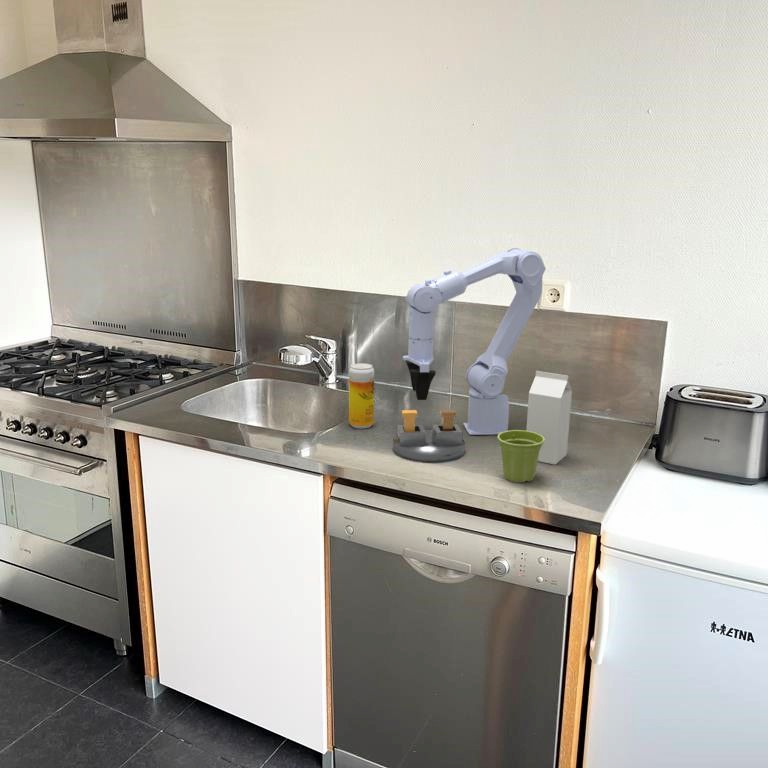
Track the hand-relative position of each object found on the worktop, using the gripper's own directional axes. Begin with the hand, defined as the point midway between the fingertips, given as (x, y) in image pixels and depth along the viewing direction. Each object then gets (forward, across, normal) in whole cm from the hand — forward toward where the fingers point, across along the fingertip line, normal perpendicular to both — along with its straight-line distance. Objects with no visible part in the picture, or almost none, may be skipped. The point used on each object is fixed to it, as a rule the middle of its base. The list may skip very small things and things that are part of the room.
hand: (419, 394), depth 178 cm
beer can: (+10, -8, -13) cm, 18 cm away
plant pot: (+10, +27, +17) cm, 33 cm away
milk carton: (+10, +16, +26) cm, 32 cm away
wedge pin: (+8, +10, -4) cm, 13 cm away
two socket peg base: (+10, +10, +1) cm, 14 cm away
